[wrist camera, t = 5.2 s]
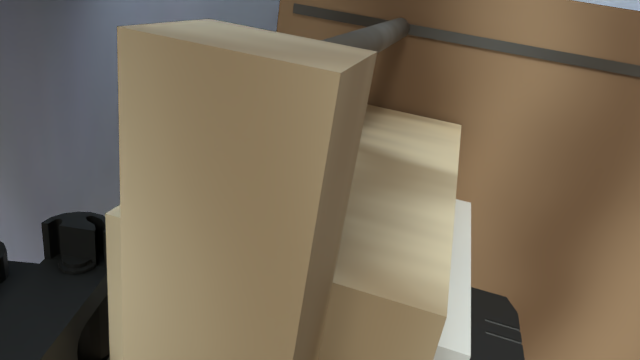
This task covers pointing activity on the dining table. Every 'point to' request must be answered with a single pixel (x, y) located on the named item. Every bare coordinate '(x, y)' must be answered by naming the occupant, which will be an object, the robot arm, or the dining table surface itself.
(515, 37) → the board
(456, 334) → the robot arm
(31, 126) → the dining table surface
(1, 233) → the dining table surface
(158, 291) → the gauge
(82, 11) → the dining table surface
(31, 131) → the dining table surface
